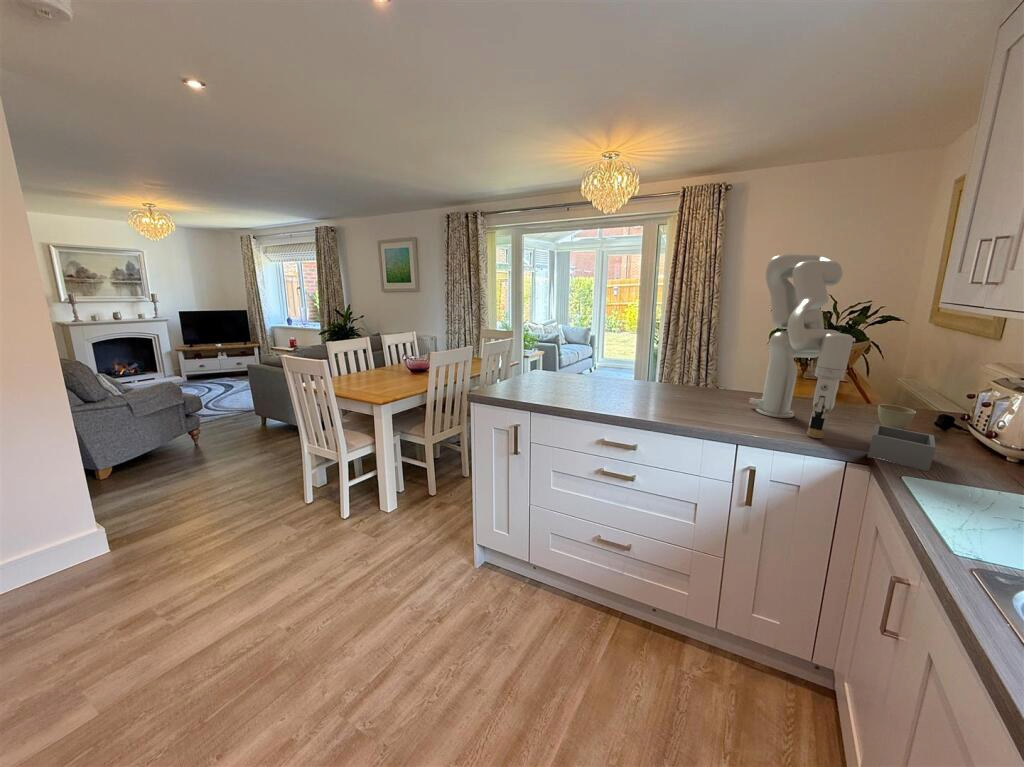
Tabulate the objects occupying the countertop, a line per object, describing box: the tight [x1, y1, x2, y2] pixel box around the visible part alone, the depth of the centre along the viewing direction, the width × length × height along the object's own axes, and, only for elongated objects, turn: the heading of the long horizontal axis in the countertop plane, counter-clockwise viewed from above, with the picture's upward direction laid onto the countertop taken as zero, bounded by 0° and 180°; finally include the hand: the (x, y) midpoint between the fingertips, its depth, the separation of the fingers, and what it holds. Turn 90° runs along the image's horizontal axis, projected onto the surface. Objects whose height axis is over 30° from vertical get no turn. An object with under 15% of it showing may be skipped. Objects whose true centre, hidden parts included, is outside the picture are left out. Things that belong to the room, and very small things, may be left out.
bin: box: [867, 423, 937, 472], centre depth 122 cm, size 13×13×7 cm
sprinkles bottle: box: [806, 400, 830, 439], centre depth 136 cm, size 5×5×13 cm
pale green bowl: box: [877, 404, 917, 430], centre depth 148 cm, size 10×10×7 cm
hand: (817, 426), depth 137 cm, fingers closed on sprinkles bottle, 4 cm apart
